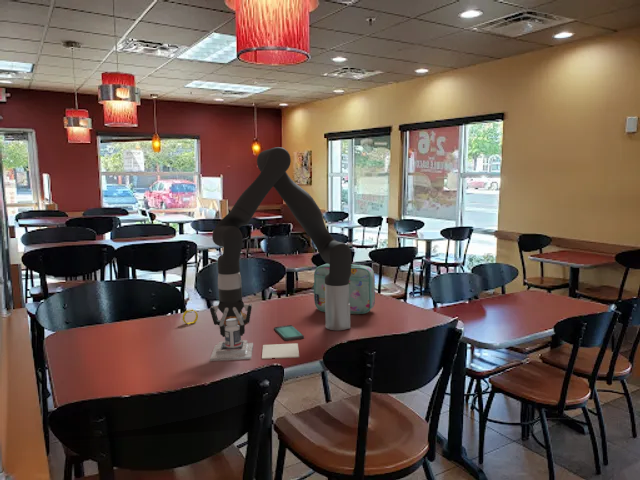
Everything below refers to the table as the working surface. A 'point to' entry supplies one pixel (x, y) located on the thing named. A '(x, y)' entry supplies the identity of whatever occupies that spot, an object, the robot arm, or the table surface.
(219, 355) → the square frame
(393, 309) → the table surface
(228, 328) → the pill bottle
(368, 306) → the lunch box
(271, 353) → the mat
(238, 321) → the bell
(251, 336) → the table surface
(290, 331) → the smartphone
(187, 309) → the yellow ring
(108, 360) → the table surface
